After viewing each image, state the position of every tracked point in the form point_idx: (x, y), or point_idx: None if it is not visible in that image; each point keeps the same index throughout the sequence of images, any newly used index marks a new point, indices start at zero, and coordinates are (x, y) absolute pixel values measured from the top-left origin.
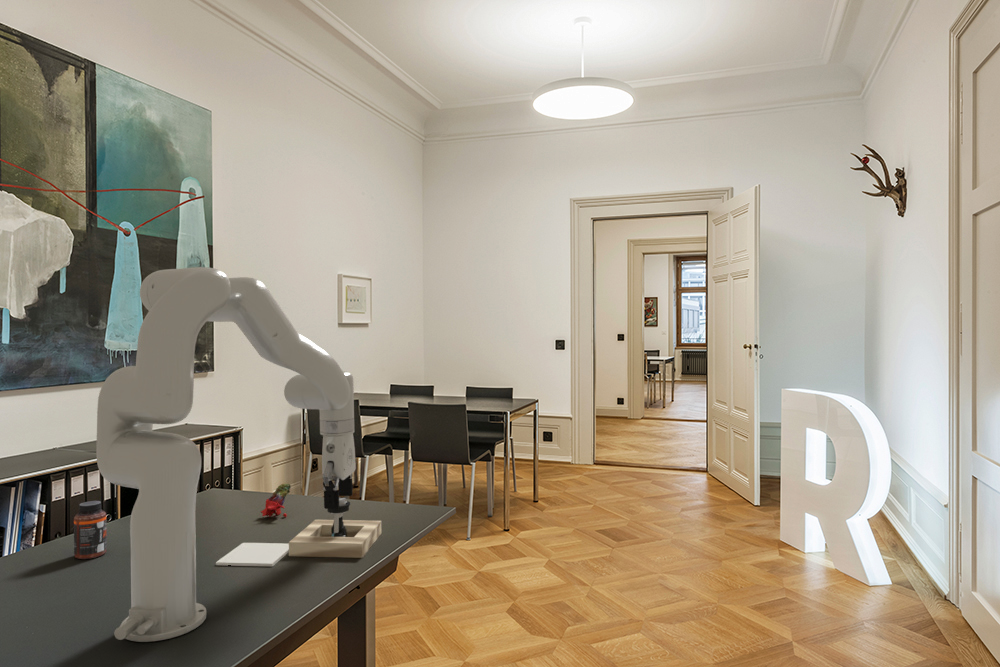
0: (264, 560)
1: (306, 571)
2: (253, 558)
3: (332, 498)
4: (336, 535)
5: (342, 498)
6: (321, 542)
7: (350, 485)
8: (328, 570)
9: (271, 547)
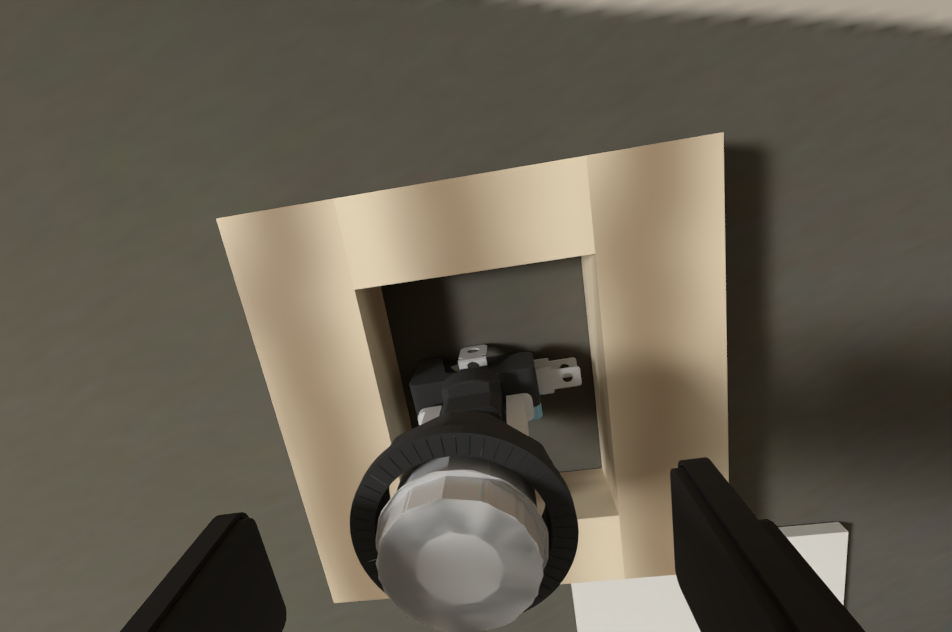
0: None
1: (903, 348)
2: None
3: (816, 591)
4: (536, 390)
5: (419, 541)
6: (720, 406)
7: (180, 617)
8: (890, 244)
9: (635, 624)
